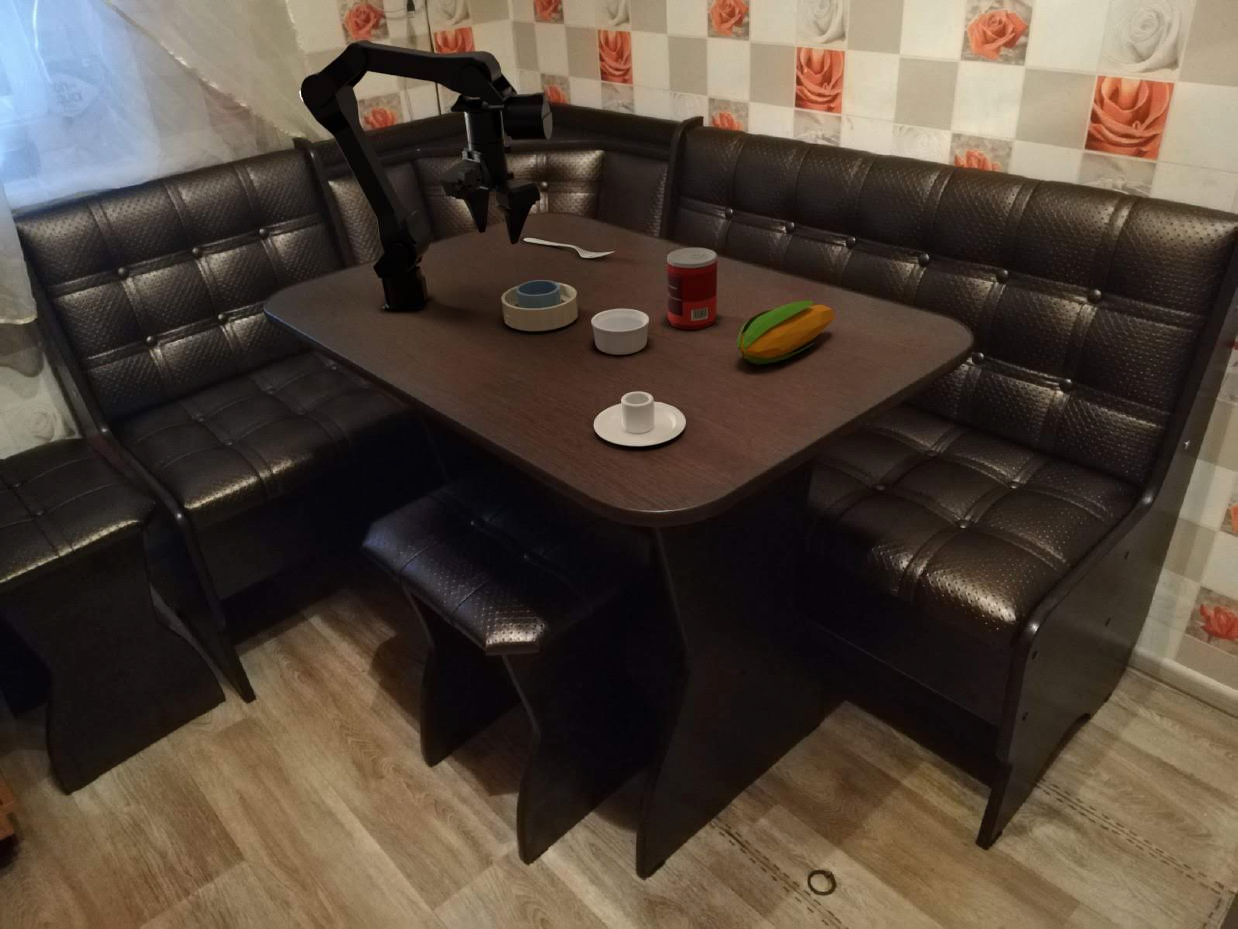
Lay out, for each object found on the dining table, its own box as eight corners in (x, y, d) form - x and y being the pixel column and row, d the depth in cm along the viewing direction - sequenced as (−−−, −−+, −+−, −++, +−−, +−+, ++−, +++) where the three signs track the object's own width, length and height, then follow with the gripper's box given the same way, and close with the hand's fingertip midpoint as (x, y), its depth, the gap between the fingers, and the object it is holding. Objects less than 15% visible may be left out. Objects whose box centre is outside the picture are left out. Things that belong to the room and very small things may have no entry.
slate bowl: (516, 325, 150) (513, 296, 148) (522, 308, 156) (519, 280, 154) (559, 324, 150) (557, 295, 147) (564, 307, 156) (562, 279, 153)
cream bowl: (498, 334, 149) (495, 310, 146) (510, 305, 159) (508, 282, 157) (574, 333, 148) (572, 308, 145) (581, 304, 158) (580, 280, 156)
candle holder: (675, 401, 126) (674, 372, 124) (695, 444, 116) (695, 414, 114) (588, 411, 125) (586, 382, 123) (601, 456, 115) (599, 425, 112)
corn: (724, 315, 131) (814, 278, 142) (721, 362, 135) (808, 323, 146) (763, 333, 127) (853, 293, 137) (758, 381, 131) (846, 339, 142)
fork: (530, 237, 191) (529, 228, 190) (616, 259, 177) (616, 250, 176) (518, 241, 189) (517, 232, 188) (605, 264, 175) (604, 255, 174)
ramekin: (621, 328, 148) (620, 303, 146) (661, 343, 143) (661, 317, 140) (580, 346, 143) (579, 320, 141) (621, 362, 138) (619, 335, 135)
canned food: (724, 316, 151) (725, 250, 145) (701, 334, 145) (701, 266, 139) (683, 308, 154) (682, 244, 149) (659, 325, 149) (657, 259, 143)
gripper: (410, 141, 146) (426, 238, 154) (476, 159, 134) (489, 263, 142) (469, 129, 152) (481, 222, 160) (538, 144, 140) (547, 245, 148)
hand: (497, 237), depth 153 cm, fingers open, 9 cm apart
